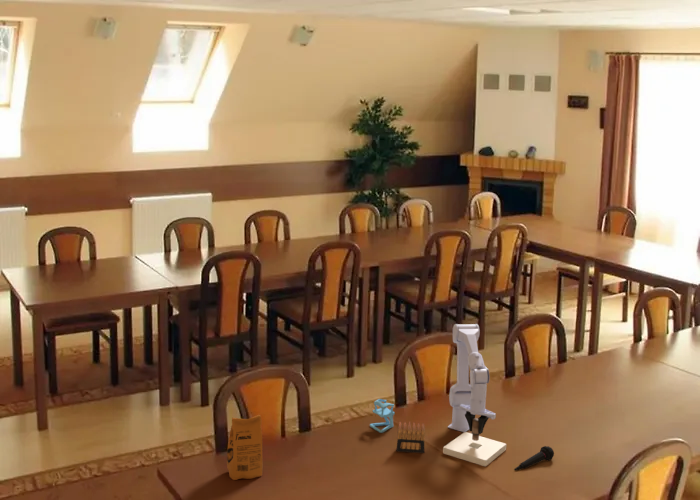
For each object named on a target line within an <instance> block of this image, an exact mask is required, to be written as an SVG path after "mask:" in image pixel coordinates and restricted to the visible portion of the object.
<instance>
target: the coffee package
mask: <svg viewBox="0 0 700 500" xmlns="http://www.w3.org/2000/svg"><path fill="white" fill-rule="evenodd" d="M230 427H231V428H230V432H229V434H228V435H229V437H228V443H227V449H226V450H227V451H226V468H227V470H228V473H229V474H228V476H229V478H230V479H232V480H233V481H236V480H241V479H246V480H251V479H255V478H258V477H259V478H260V477H262V476H263V468H264V467H263V466H264V465H263V429H262V415H260V414H258V415H254V416H252V417H249V418H239V417H232V418H231V426H230Z"/></svg>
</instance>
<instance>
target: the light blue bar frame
mask: <svg viewBox="0 0 700 500" xmlns="http://www.w3.org/2000/svg"><path fill="white" fill-rule="evenodd" d="M373 404H374V409H372V413H374V414H375V415H378V416H379V417H380V418H384V420H385V422H375V423H369V427H370V428H372V429H373V430H375V431H377V432H378V433H380V434H383V433H384V432H386V431H387V430H389V429H391V428H393V427H394V415H395V412H396V411H394V410H393V409H394V407H395V404H394V403H390V402H387V399H384V398H383V399H382V398H378V399H376V400H374V402H373ZM378 407H379V408H378ZM388 407H391V408H388ZM379 426H386V427H384V428H382V429H380V428H378V427H379Z"/></svg>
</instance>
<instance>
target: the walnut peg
mask: <svg viewBox="0 0 700 500" xmlns="http://www.w3.org/2000/svg"><path fill="white" fill-rule="evenodd" d="M478 418H479V417H478ZM478 418H477V417H475V418H474V419H473V420H472V431H471V434H472V440H475V441H477V440H479V436H480V434H479V433H478V431H479V421H478Z"/></svg>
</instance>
